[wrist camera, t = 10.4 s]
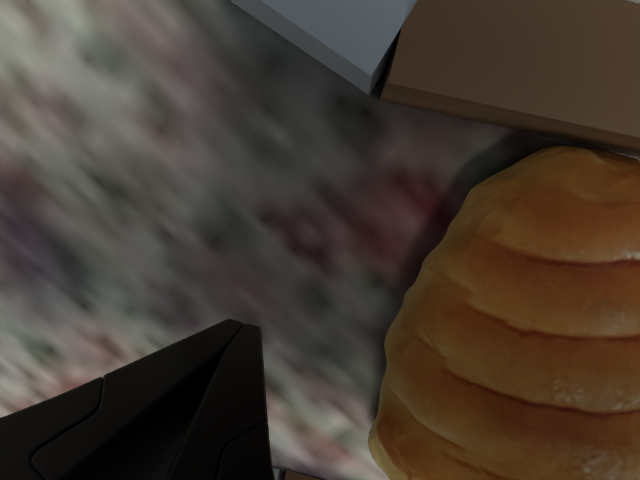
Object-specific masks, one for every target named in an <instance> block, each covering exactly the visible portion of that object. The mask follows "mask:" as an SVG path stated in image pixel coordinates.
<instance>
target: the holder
mask: <svg viewBox="0 0 640 480" xmlns="http://www.w3.org/2000/svg"><path fill="white" fill-rule="evenodd" d="M229 1H231V2H232V3H234V4H235V5H236V6H238V7H239V8H241V9H242V10H244V11H245V12H247V13H248V14H250V15H251V16H253V17H254V18H256V19H257V20H259V21H260V22H261V23H263V24H264V25H266V26H267V27H269V28H270V29H272V30H273V31H275V32H276V33H278V34H279V35H281V36H282V37H284V38H285V39H287V40H288V41H289V42H291V43H292V44H294V45H295V46H297V47H298V48H300V49H301V50H303V51H304V52H306V53H307V54H309V55H310V56H312V57H313V58H315V59H316V60H317V61H319V62H320V63H322V64H323V65H325V66H326V67H328V68H329V69H331V70H332V71H334V72H335V73H337V74H338V75H340V76H341V77H343V78H344V79H345V80H347V81H348V82H350V83H351V84H353V85H354V86H356V87H357V88H359V89H360V90H362V91H363V92H365V93H366V94H368V95H370V93H371V91H372V90H373V88H374V87H375V85H376V83H377V82H378V80H379V79H380V77H381V75H382V74H383V72H384V71H385V69H386V67H387V66H388V68H387V72H386V76H385V80H384V84H383V88H382V92H381V96H380V100H383V101H387V102H392V103H396V104H401V105H405V106H410V107H414V108H419V109H424V110H428V111H433V112H437V113H442V114H446V115H451V116H455V117H460V118H464V119H469V120H473V121H478V122H483V123H487V124H492V125H496V126H501V127H505V128H510V129H514V130H519V131H523V132H528V133H533V134H537V135H542V136H546V137H551V138H555V139H560V140H564V141H569V142H573V143H578V144H583V145H587V146H592V147H596V148H601V149H605V150H610V151H614V152H619V153H623V154H628V155H632V156H637V157H640V4H639V3H634V2H629V1H624V0H229ZM273 470H274V476H275V480H282V478H281V473H280V469H273ZM284 480H321V479H317V478H314V477H310V476H307V475H303V474H300V473H296V472H293V471H289V470H287V471H286V475H285V479H284Z"/></svg>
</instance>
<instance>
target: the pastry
mask: <svg viewBox="0 0 640 480" xmlns="http://www.w3.org/2000/svg"><path fill="white" fill-rule="evenodd" d="M384 349H385V352H386V359H387V367H386V372H385V375H384V377H383V379H382V384H381V390H380V399H379V407H378V413H377V416H376V419H375V421H374V423H373V425H372V427H371V430H370V432H369V438H368V444H369V449H370V452H371V454H372V457H373V458H374V460H375V461H376V463H377V465H378V466H379V467H380V468H381V469H382V470H383V471H384V472H385V473H386V474H387V476H388V477H389V479H390V480H640V162H639V161H638V160H637V159H634V158H630V157H627V156H623V155H620V154H617V153H614V152H610V151H607V150H603V149H596V148H584V147H575V146H566V145H560V146H553V147H548V148H544V149H541V150H539V151H537V152H535V153H533V154H531V155H529V156H527V157H525V158H524V159H522V160H520V161H519V162H517V163H515V164H513V165H512V166H510V167H508V168H506V169H504V170H502V171H500V172H498V173H497V174H495V175H493V176H491V177H489V178H487V179H485V180H484V181H482V182H481V183H479V184H477V185H476V186H474V187H473V188H472V189H471V190H470V191H469V193H468V195H467V196H466V198H465V200H464V203H463V205H462V207H461V209H460V211H459V213H458V214H457V215H456V217H455V218H454V219H453V220H452V221H451V223H450V225H449V227H448V230H447V233H446V235H445V237H444V238H443V240H442V241H441V242H440V243H439V245H438V246H437V247H436V248H435V249H434V250H432V251H431V252H430V254H429V255H428V256H427V257H426V258H425V259H424V261H423V264H422V268H421V271H420V273H419V275H418V277H417V279H416V281H415V283H414V284H413V285H412V286H411V287H410V288H409V289H408V290H407V291H406V292H405V294H404V299H403V305H402V307H401V309H400V311H399V313H398V314H397V316H396V318H395V320H394V321H393V322H392V324H391V325H390V327H389V330H388V332H387V335H386V338H385V344H384Z"/></svg>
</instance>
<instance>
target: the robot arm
mask: <svg viewBox="0 0 640 480" xmlns="http://www.w3.org/2000/svg"><path fill="white" fill-rule="evenodd" d="M0 480H275V476H274V470H273V465H272V458H271V449H270V441H269V428H268V417H267V403H266V390H265V376H264V362H263V348H262V334H261V327H259V326H256V325H252V324H248V323H246V324H244V323H243V322H241V321H237V320H233V319H227V320H225V321H222V322H220V323H218V324H216V325H214V326H211V327H209V328H207V329H205V330H203V331H200V332H198V333H196V334H194V335H192V336H189V337H187V338H185V339H183V340H181V341H178V342H176V343H174V344H172V345H170V346H167V347H165V348H163V349H161V350H159V351H156V352H154V353H152V354H150V355H147V356H145V357H143V358H141V359H139V360H136V361H134V362H132V363H130V364H128V365H125V366H123V367H121V368H119V369H117V370H114V371H112V372H110V373H108V374H106V375H104V377H103V378H102V377H99V378H96V379H94V380H92V381H90V382H88V383H85V384H83V385H81V386H79V387H76V388H74V389H72V390H69V391H67V392H65V393H62V394H60V395H58V396H55V397H53V398H51V399H48V400H46V401H43V402H40V403H38V404H35V405H33V406H30V407H28V408H25V409H23V410H20V411H17V412H15V413H12V414H9V415H7V416H4V417H1V418H0Z"/></svg>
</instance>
